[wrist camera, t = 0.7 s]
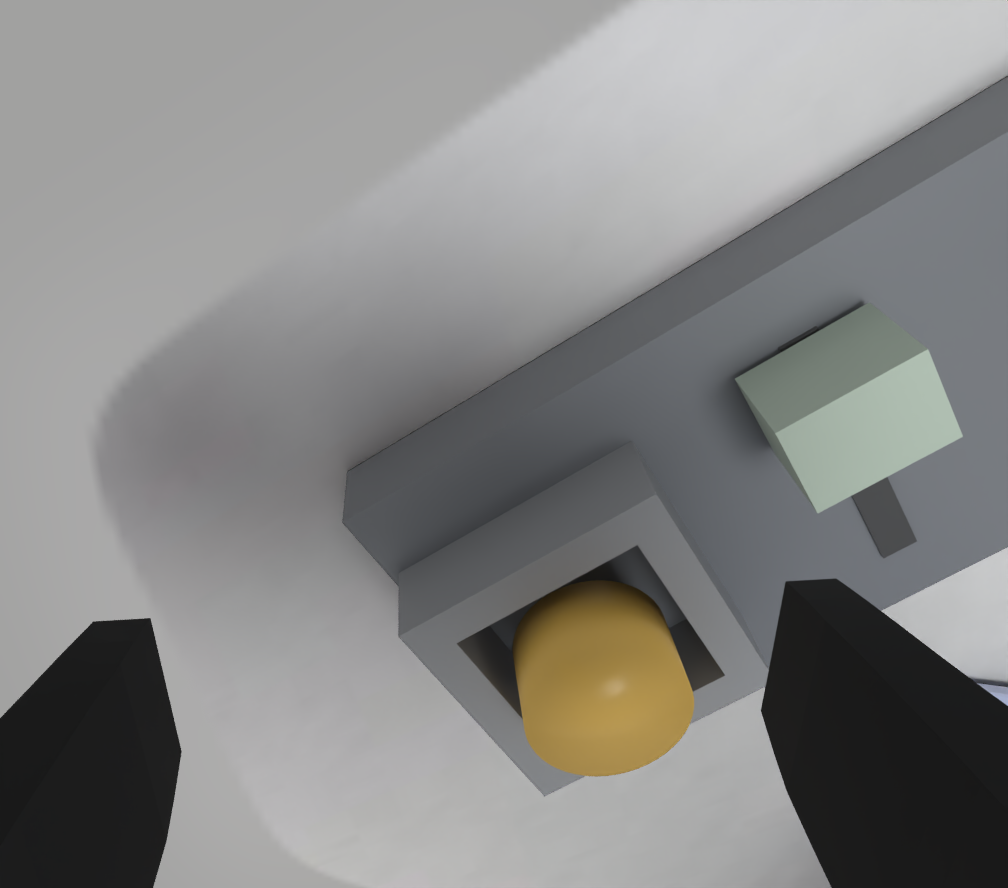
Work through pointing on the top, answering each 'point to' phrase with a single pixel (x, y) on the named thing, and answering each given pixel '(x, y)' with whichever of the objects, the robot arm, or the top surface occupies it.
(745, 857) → the top surface
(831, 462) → the sage green cuboid
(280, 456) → the top surface
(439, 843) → the top surface
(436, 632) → the control panel
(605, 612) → the amber button
